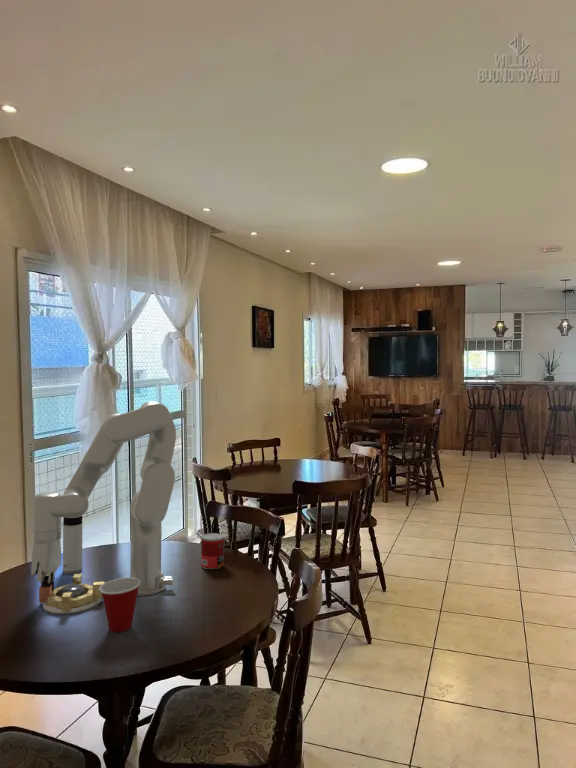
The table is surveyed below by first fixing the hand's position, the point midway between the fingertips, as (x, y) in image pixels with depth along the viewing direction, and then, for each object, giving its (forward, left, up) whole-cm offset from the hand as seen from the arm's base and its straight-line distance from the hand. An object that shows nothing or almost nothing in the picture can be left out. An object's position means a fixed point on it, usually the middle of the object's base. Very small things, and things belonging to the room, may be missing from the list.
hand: (47, 595), depth 162 cm
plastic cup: (-28, +14, -2) cm, 31 cm away
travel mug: (+4, -25, -2) cm, 25 cm away
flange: (-8, 0, -2) cm, 8 cm away
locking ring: (-8, 0, -1) cm, 8 cm away
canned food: (-43, -35, -2) cm, 55 cm away
